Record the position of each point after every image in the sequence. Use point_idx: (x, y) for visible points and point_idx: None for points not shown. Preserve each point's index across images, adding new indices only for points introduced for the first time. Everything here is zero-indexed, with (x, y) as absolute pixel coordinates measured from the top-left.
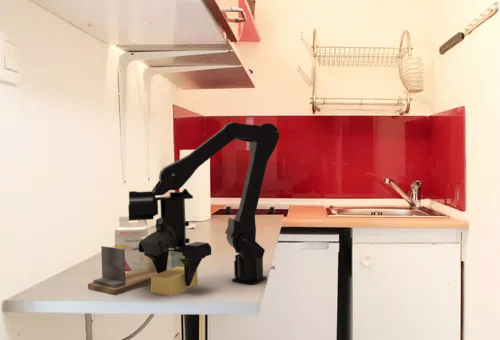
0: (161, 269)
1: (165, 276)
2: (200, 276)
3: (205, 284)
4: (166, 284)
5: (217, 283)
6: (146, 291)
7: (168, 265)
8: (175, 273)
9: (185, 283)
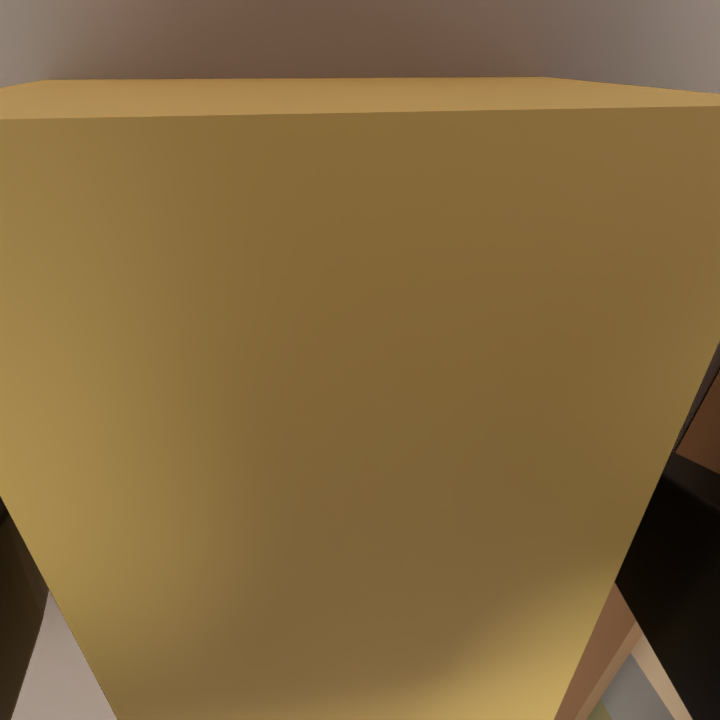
0: (712, 571)
1: (351, 301)
2: None
3: None
4: (157, 94)
5: None
6: (639, 72)
7: None
8: (307, 586)
9: None
